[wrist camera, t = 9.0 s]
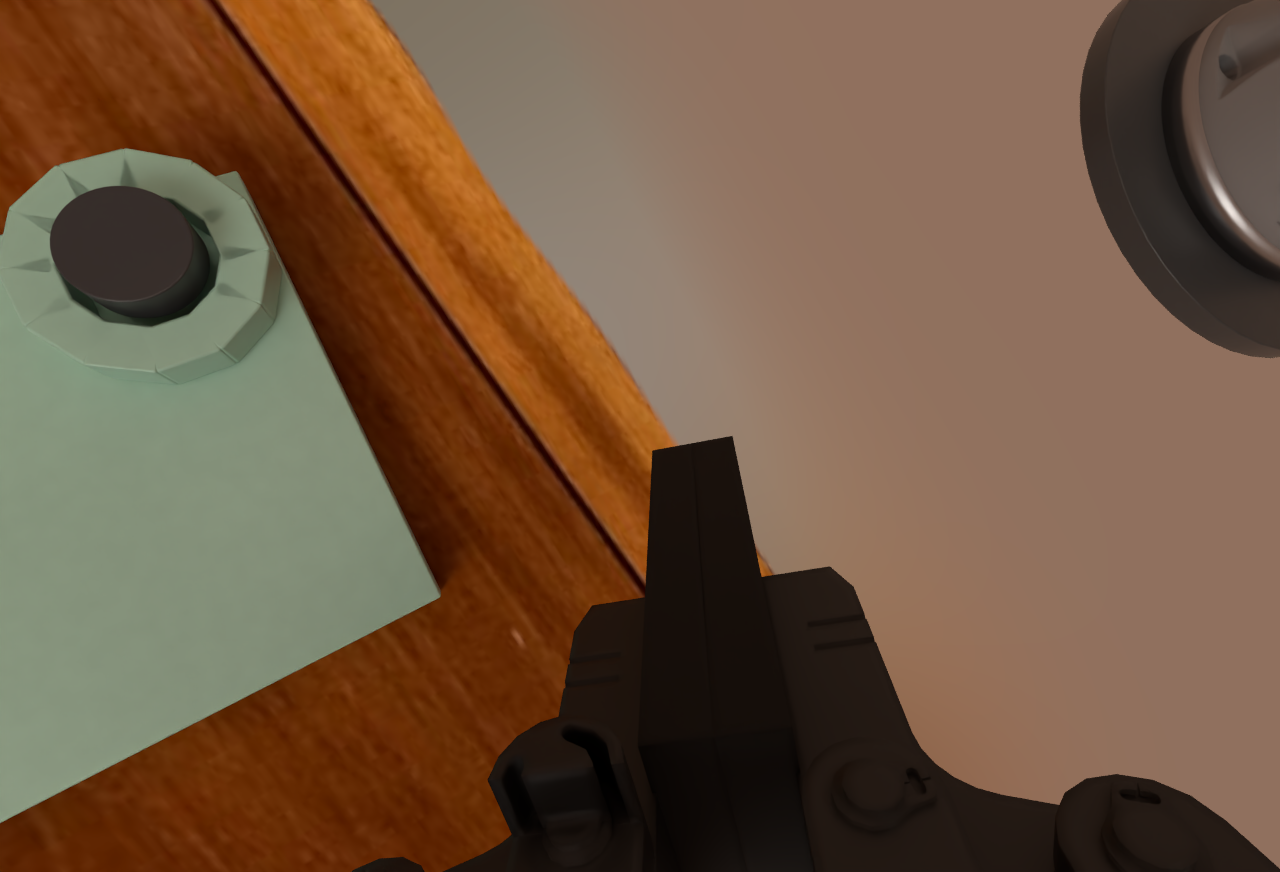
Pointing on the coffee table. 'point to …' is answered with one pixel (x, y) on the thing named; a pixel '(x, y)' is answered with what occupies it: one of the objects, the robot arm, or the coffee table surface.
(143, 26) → the coffee table surface
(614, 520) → the coffee table surface
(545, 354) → the coffee table surface
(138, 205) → the button
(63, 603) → the scale
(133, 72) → the coffee table surface
